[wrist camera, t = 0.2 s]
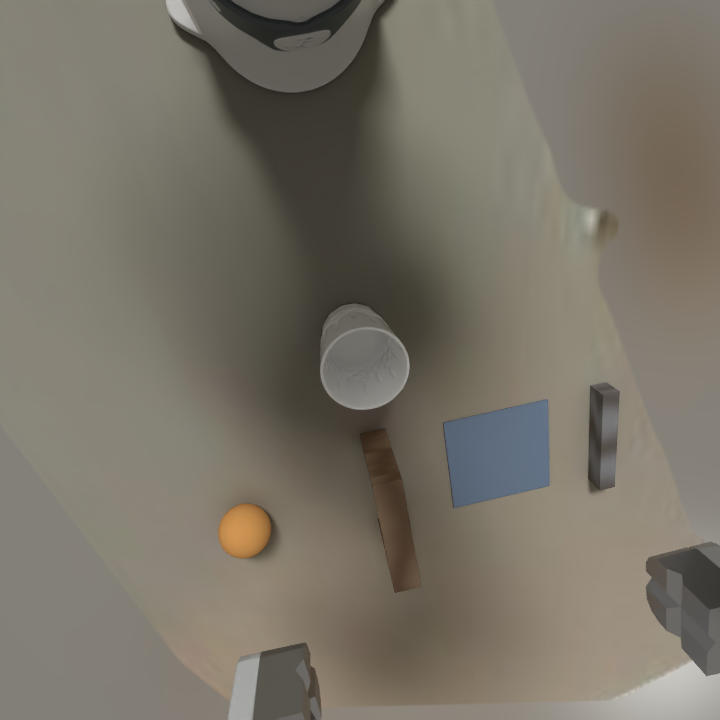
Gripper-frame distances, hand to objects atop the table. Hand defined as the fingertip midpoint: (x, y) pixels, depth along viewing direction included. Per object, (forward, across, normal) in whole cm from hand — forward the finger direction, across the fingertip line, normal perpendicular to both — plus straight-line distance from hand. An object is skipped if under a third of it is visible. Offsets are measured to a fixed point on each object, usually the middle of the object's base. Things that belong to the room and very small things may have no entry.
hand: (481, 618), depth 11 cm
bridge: (+42, 0, +22) cm, 47 cm away
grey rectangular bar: (+42, -28, +22) cm, 55 cm away
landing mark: (+42, -15, +22) cm, 49 cm away
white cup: (+40, 0, +2) cm, 40 cm away
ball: (+38, +17, +23) cm, 48 cm away
